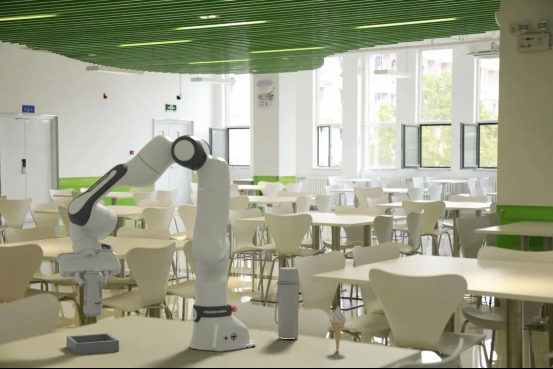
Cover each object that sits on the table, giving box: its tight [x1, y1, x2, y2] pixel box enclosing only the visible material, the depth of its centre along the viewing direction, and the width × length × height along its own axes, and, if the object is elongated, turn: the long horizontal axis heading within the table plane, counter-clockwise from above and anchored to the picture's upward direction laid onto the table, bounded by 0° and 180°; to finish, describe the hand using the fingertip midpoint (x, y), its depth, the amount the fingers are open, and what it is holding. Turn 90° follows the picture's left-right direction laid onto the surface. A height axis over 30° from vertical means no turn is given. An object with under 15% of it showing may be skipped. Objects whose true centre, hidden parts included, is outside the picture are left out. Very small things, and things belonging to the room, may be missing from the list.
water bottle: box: [274, 266, 300, 339], centre depth 285 cm, size 9×8×25 cm
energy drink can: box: [82, 269, 103, 318], centre depth 263 cm, size 6×6×15 cm
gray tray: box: [66, 332, 120, 356], centre depth 263 cm, size 14×14×4 cm
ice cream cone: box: [329, 305, 347, 351], centre depth 264 cm, size 6×6×15 cm
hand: (93, 284), depth 263 cm, fingers closed on energy drink can, 6 cm apart
